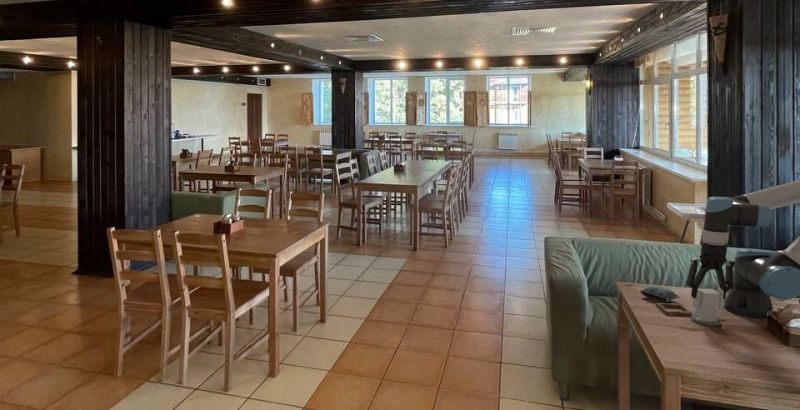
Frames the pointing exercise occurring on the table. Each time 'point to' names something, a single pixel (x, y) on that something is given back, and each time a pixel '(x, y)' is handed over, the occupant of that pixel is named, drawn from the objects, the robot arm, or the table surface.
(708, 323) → the grey disc
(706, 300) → the grey block
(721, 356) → the table surface
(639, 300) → the table surface
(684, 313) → the walnut holder
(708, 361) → the table surface
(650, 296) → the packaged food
